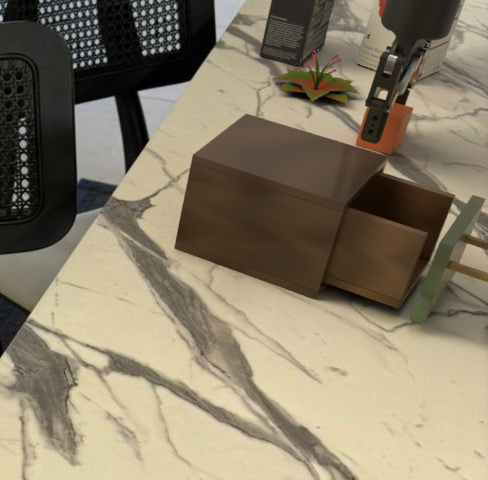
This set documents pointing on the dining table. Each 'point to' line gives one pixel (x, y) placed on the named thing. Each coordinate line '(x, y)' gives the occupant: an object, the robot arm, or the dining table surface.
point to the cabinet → (272, 201)
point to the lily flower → (317, 82)
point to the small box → (295, 29)
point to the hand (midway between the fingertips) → (380, 129)
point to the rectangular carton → (380, 38)
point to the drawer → (402, 243)
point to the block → (389, 130)
